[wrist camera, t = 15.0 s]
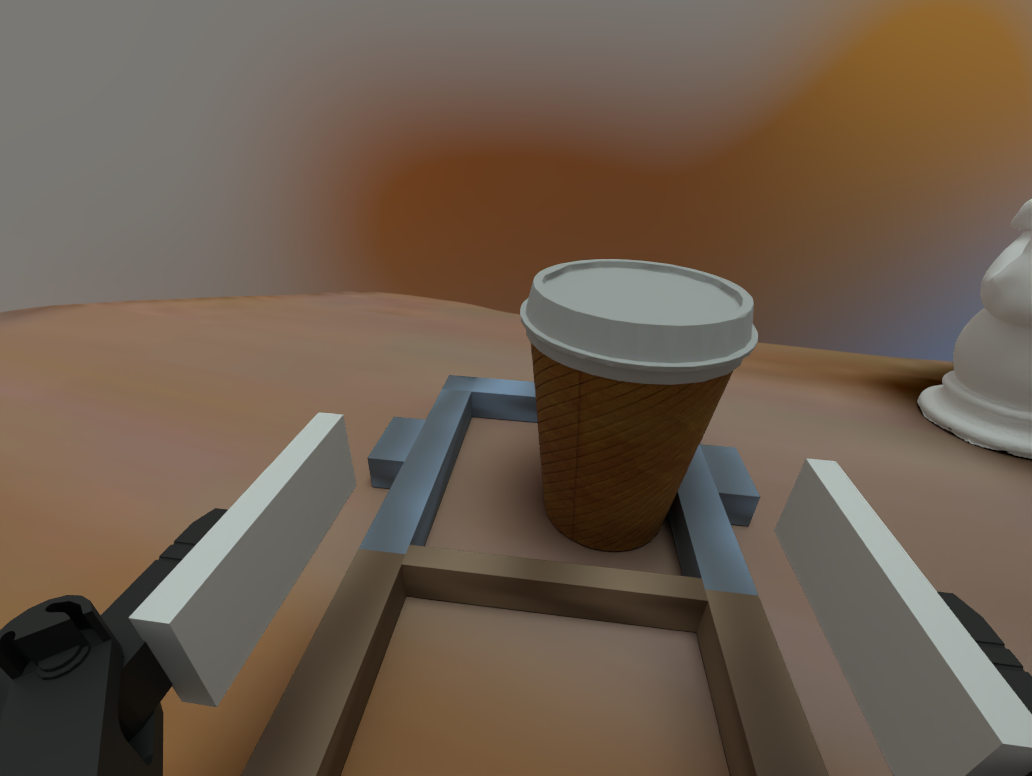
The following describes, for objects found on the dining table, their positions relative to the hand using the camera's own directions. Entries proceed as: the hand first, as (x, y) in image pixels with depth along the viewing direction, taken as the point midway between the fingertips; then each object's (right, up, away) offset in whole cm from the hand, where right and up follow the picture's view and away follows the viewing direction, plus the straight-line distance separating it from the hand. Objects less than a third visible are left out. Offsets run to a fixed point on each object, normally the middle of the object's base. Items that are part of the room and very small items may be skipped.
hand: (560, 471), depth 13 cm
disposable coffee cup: (+3, -4, +11) cm, 12 cm away
